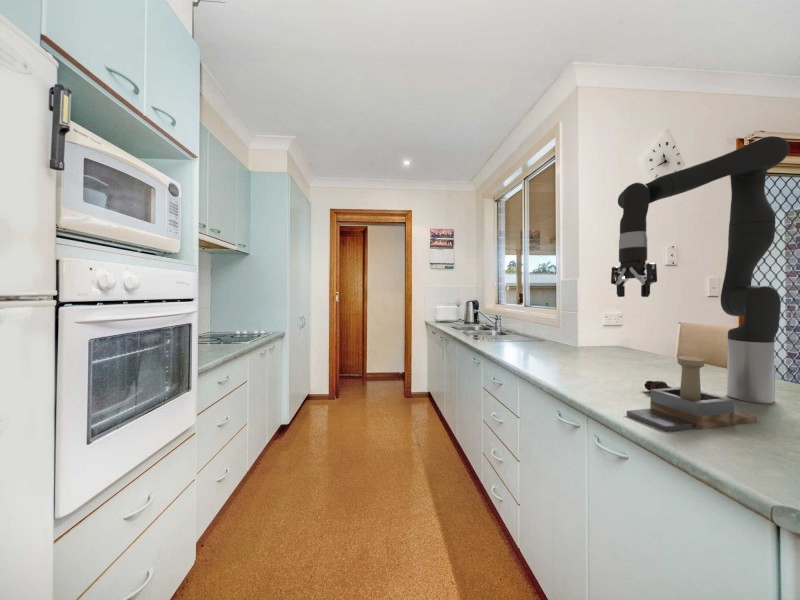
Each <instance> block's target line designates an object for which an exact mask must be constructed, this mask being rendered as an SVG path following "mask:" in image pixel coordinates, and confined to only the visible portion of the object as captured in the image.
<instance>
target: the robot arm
mask: <svg viewBox="0 0 800 600" xmlns="http://www.w3.org/2000/svg"><path fill="white" fill-rule="evenodd" d="M789 152H790V144H789V142H788V141H787V140H786V139H785V138H783V137H782V136H778V135H777V136H776V135H768V136H764V137H760V138H758V139H755V140H753V141H751V142H750V143H748V144H746V145H744V146H741V147H739V148H737V149H735V150H732V151H730V152H727V153H725V154H722V155H721V156H718V157H715V158H712V159H709V160H706V161H703V162H701V163H698V164H695V165H692V166H688V167H685V168H683V169H679V170H675V171H671V173H666V174H663V175H661V176H659V177H657V178H655V179H653V180H652V181H648V182H647V183H643V182H633V183H631V184H629V185H628V186H627V187H626V188H624V190H623V191H622V192H621V193H620V194H619V195H618V198H617V205H618V206H619V207H620V208H621V209H623V211H622V217H621V218H620V222H619V237H618V239H619V240H618V262H619V263H620V265H619V266H612V267H611V273H610V274H611V277H610V284H612V285H614V286H616V295H617V297H618V298H624V297H625V296H626V295H625V293H626V292H625V291H626V290H625V289H626V288H625V287H626V285H625V284H626V283H627V281H629V280H630V279H636V280H638V281H639V282H640V284H641V285H640V286H641V287H640V296H641V298H649V297H650V295H651V285H652V284H654V283H657V282H658V272H657V271H658V270H657V269H658V267H657V263H656V262H647V261H648V236H647V226H648V225H647V216H648V211H649V206H650V204H652V203H655V202H657V201H660V200H663V199H666V198H671V197H673V196H677V195H680V194H684V193H686V192H689V191H692V190H694V189H698V188H699V187H701V186H702V187H703V186H705V185H707V184H710V183H711V182H714V181H717V180H720V179H723V178H726V177H728V176H729V177H730V187H731V200H730V210H729V211H730V213H729V214H730V215H729V223H728V239H727V240H728V242H727V243H728V244H727V256H726V265H725V266H726V267H725V272H724V277H723V283H722V288H721V292H720V306H721V310H723V311H724V313H726V314H727V315H729V316H731V317H741V318H743V317H744V318H743V323H742V324H741V325H739V326H738V327H734V328H730V329H728V332H727V368H726V369H727V370H726V371H727V372H726V373H727V376H726V377H727V381H726V395H727V396H728V397H730V398H732V399H734V400H735V399H736V400H740V401H745V402H749V403H757V404H773V403H774V402H775V401H776V368H775V339H776V335H777V333H778V331H779V329H780V316H781V308H782V306H781V305H782V301H781V297H780V294H779V292H778V290H776V289H775V288H774V287H772V286H768V285H752V281H753V280H752V279H753V274H754V272H755V271H754V270H755V269H756V267H757V265H758V264H759V262H760V261H761V260H762V258H763V257H764V256H765V254H766V253H767V252H768V250H769V249H770V248H771V246H772V244H774V241H775V236H776V235H775V233H776V215H775V211H774V208H773V206H772V204H770V202H769V200H768V198H767V196H766V190H765V186H766V178H767V173H768V171H769V170H771V169H773V168H774V167H776V166H778V165H779V164H780V163H782V162H783V161H784V160H785V159H786V158H787V156H788V154H789ZM646 262H647V263H646Z"/></svg>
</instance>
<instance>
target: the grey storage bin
mask: <svg viewBox="0 0 800 600" xmlns="http://www.w3.org/2000/svg"><path fill="white" fill-rule="evenodd" d="M680 387H681V386H680ZM680 387H677V386H676V387H672V388H663V389H651V391H650V402H651V401H652V402H655V403H658V404H661V405H664V406H667V407H670V408H673V409H676V410H679V411H682V412H685V413H688V414H691V415H694V416H697V417H699V416H708V415H718V414H727V413H734V410H735V407H736V406H735V403H736V402H735V401H736V400H735V399H733V398H732V399H731V398H729V397H724V396H720V395H718V394H717V395H716V394H713V393H708V392H705V391H702V390H701V400H700V401H694V400H691V399H687V398H684V397H680ZM626 416H627V417H630V418H632V419H635V420H637V421H640V422H641V423H644V424H647V425H648V426H651V427H653V426H654V428H657V429H659V430H661V431H664V432H666V433H668V432H670V431H671V432H677V431H689V430H696V429H695V423H692V422H689V421H686V420H684V419H681V418H678V417H675V416H672V415H670V414H667V413H664V412H661V411H658V410H656V409H653V408H643V409H642V408H640V409H630V410H626Z"/></svg>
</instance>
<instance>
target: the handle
mask: <svg viewBox="0 0 800 600" xmlns="http://www.w3.org/2000/svg"><path fill="white" fill-rule="evenodd" d="M677 364H678V365H680V366H681V376H680V377H681V378H680V379H681V380H680V397H684V398H687V399H691V400H694V401H700V400H701V391H702V390H701V377H700V376H701V375H700V374H701V373H700V371H701V368H703V367H705V359H704V358H701V357H698V356H688V355H687V356H686V355H680V356H678V357H677Z"/></svg>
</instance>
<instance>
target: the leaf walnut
mask: <svg viewBox="0 0 800 600" xmlns="http://www.w3.org/2000/svg"><path fill="white" fill-rule="evenodd" d="M649 402H650V405H649V406H650V408H653V409H656V410H658V411H661V412H664V413H667V414H670V415H672V416H675V417H678V418H681V419H684V420H686V421H689V422H692V423H695V429H694V430H697V431H698V430H706V429H714V428H715V429H716V428H724V427H725V428H726V427H730V426H731V427H732V426H733V427H734V426H735V425H739V424H747V423H748V424H749V423H750V424H751V423H757V422H758V416H755V415H753V414H749V413H746V412H742V411H739V410H736V409H734V413H727V414H718V415H708V416H699V417H697V416H694V415H691V414H688V413H685V412H682V411H679V410H676V409H673V408H670V407H667V406H664V405H661V404H658V403H655V402H652V401H651V400H650V401H649ZM650 408H649V409H650Z"/></svg>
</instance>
